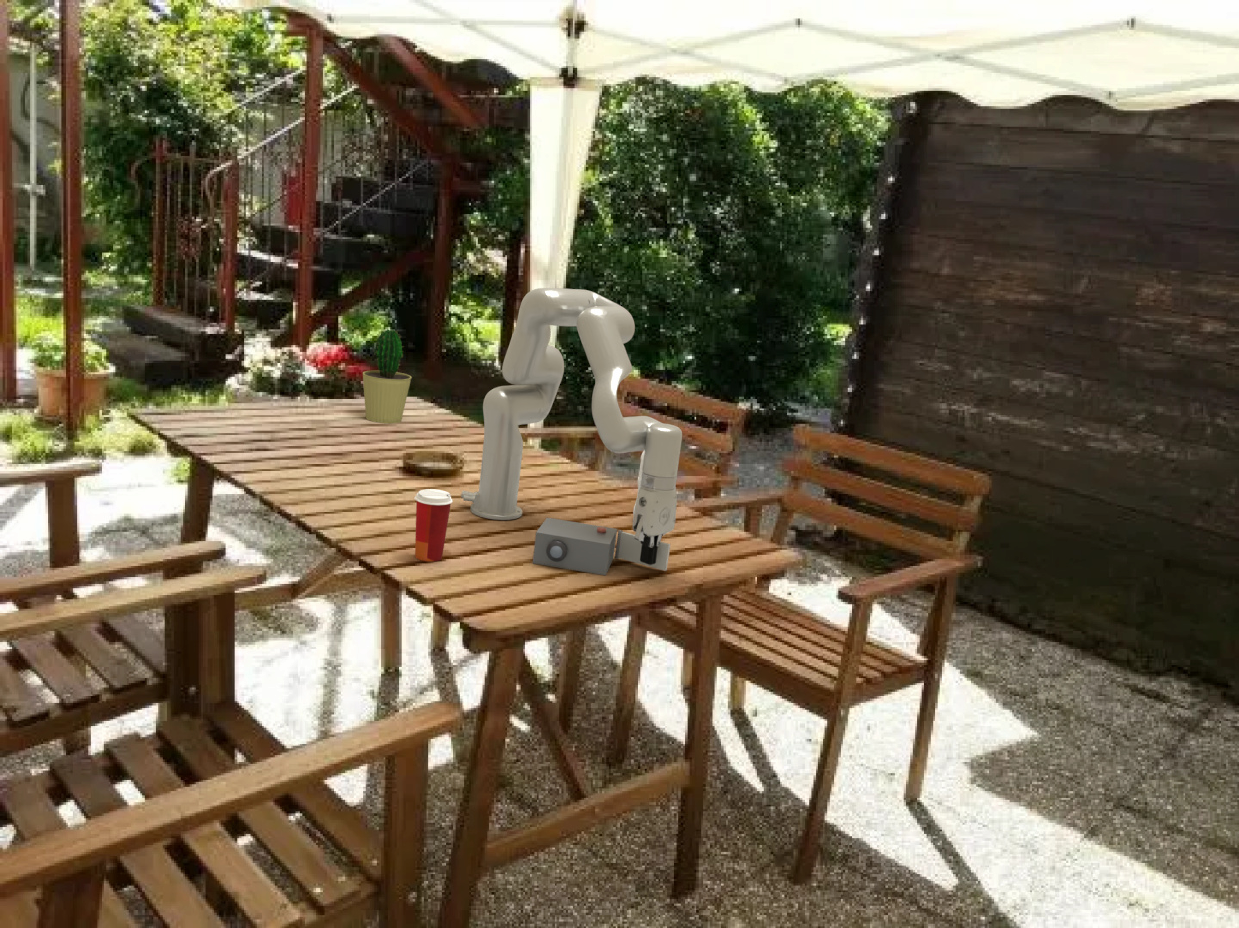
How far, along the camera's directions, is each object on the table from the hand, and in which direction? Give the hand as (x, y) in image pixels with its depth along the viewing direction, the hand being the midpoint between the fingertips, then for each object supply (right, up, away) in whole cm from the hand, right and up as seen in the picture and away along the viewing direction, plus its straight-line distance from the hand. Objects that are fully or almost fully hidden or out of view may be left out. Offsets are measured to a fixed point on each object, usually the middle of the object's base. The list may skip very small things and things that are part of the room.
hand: (647, 562), depth 232 cm
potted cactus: (-83, +36, +114) cm, 146 cm away
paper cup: (-46, +2, -8) cm, 47 cm away
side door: (-1, -1, +5) cm, 5 cm away
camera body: (-16, 0, +2) cm, 16 cm away
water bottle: (+1, +6, +37) cm, 38 cm away
